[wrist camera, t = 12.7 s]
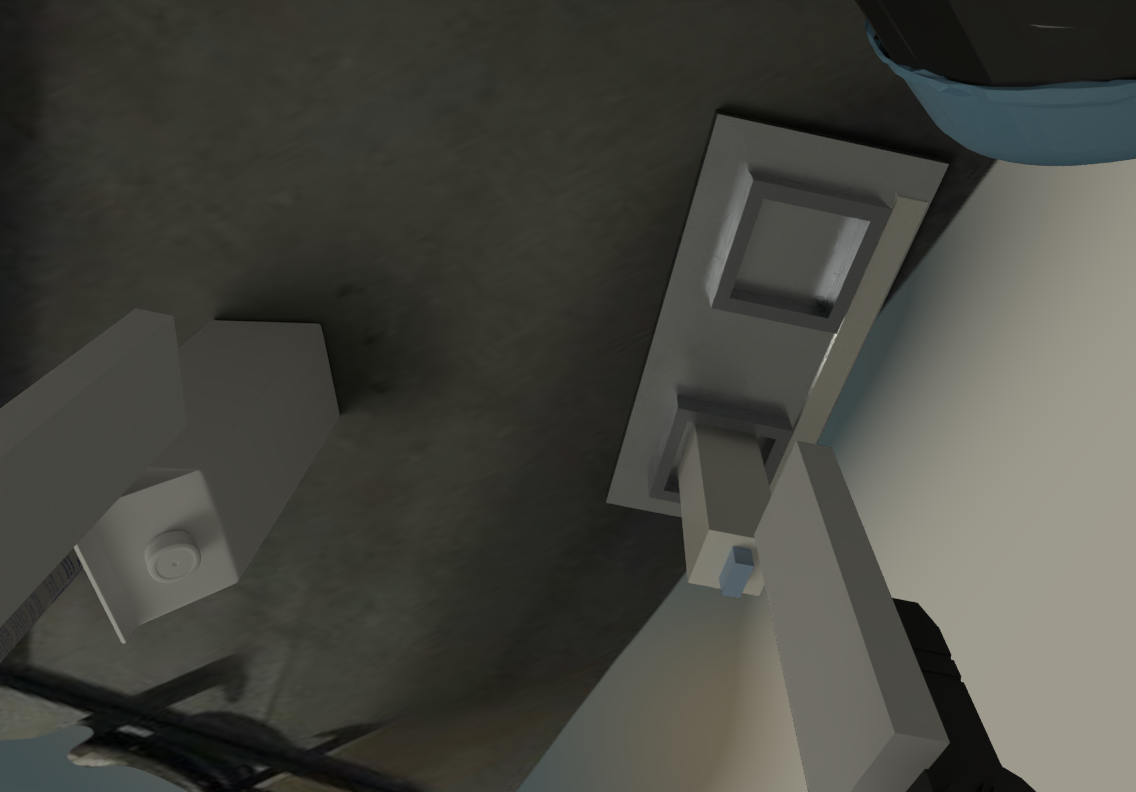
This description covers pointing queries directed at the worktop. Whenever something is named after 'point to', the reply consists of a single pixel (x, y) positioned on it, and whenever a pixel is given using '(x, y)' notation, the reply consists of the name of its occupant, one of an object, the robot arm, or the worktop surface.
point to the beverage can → (38, 602)
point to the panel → (768, 295)
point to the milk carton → (215, 470)
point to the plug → (722, 509)
